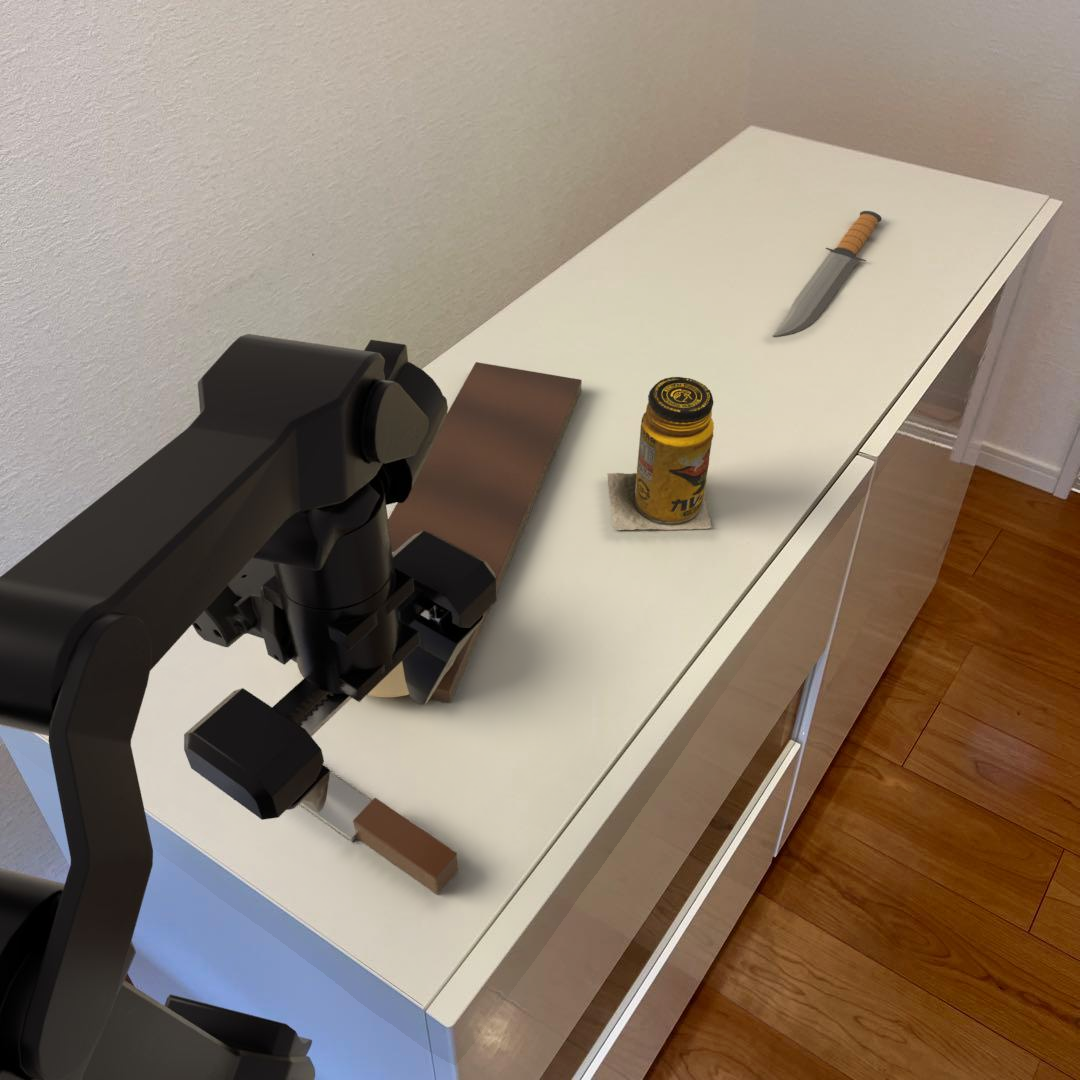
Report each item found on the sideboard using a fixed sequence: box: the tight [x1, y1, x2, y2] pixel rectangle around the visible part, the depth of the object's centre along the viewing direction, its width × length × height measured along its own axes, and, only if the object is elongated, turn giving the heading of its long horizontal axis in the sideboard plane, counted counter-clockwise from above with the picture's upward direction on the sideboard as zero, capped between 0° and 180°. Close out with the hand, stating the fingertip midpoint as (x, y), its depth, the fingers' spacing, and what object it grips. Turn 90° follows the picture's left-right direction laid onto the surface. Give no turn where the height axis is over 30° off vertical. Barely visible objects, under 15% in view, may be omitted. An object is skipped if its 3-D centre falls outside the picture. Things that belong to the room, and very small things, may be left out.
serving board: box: [388, 361, 583, 704], centre depth 94 cm, size 40×11×2 cm, turn 164°
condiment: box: [606, 376, 715, 531], centre depth 91 cm, size 7×8×12 cm
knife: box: [772, 210, 882, 337], centre depth 123 cm, size 30×1×5 cm
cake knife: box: [298, 772, 459, 895], centre depth 72 cm, size 17×3×2 cm, turn 54°
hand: (368, 751), depth 64 cm, fingers open, 9 cm apart
